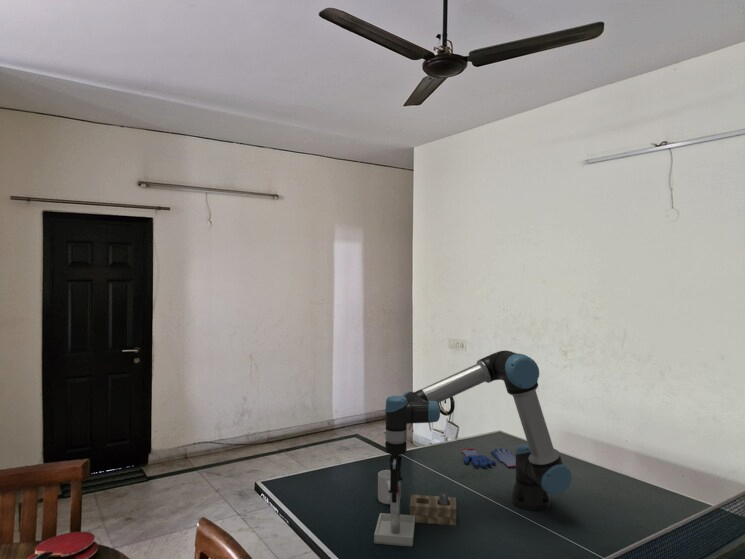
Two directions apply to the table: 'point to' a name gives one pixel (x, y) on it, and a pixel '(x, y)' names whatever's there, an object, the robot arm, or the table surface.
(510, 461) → the pair of gloves
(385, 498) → the mug
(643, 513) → the table surface
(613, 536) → the table surface
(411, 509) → the block
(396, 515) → the glass vial with cap
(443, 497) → the short pin
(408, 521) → the tray
